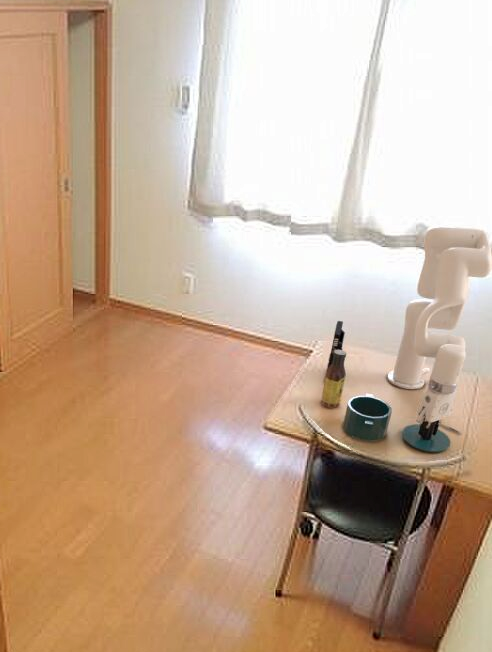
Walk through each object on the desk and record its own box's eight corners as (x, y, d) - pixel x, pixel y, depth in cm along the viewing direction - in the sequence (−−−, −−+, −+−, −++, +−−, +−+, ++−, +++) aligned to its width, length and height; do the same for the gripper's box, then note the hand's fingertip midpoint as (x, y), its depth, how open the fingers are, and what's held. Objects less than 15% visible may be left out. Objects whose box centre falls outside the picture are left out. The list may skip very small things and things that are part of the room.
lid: (447, 431, 208) (453, 413, 205) (451, 457, 197) (458, 438, 193) (400, 423, 212) (405, 405, 208) (402, 448, 200) (407, 429, 197)
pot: (385, 418, 216) (390, 395, 212) (385, 450, 201) (392, 426, 196) (344, 411, 219) (348, 388, 215) (341, 442, 204) (347, 418, 199)
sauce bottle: (340, 410, 220) (351, 358, 210) (321, 407, 221) (331, 356, 211) (339, 400, 226) (349, 349, 215) (320, 398, 227) (330, 347, 216)
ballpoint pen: (458, 433, 210) (459, 431, 209) (457, 434, 209) (458, 432, 209) (428, 419, 217) (429, 417, 216) (426, 420, 216) (427, 418, 215)
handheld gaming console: (326, 368, 245) (336, 320, 234) (339, 371, 243) (349, 322, 233) (323, 383, 235) (333, 334, 225) (336, 386, 234) (346, 336, 223)
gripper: (433, 397, 188) (417, 448, 197) (471, 384, 194) (454, 434, 204) (412, 384, 193) (398, 435, 203) (450, 372, 200) (435, 421, 209)
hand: (427, 434), depth 203 cm, fingers closed on lid, 3 cm apart
